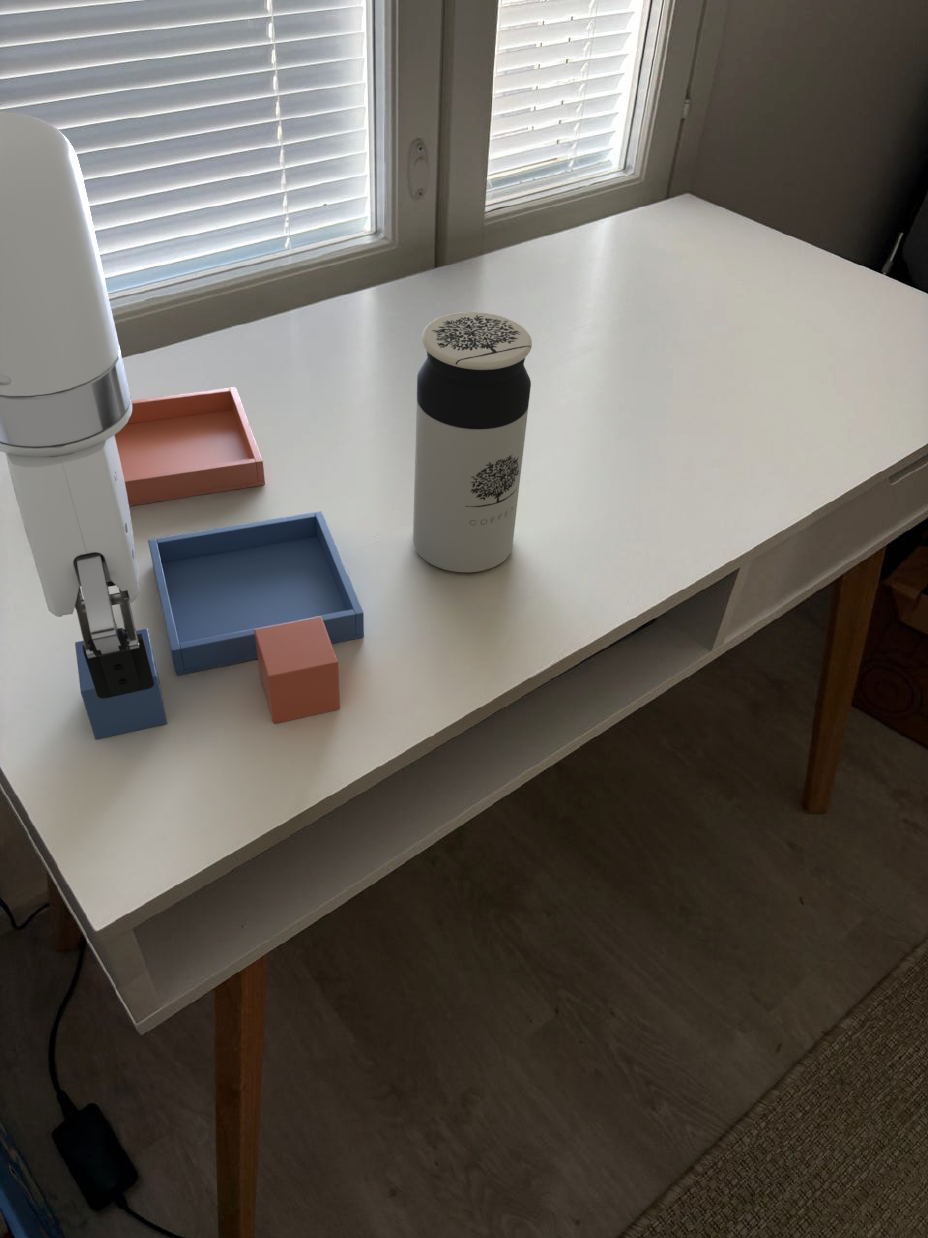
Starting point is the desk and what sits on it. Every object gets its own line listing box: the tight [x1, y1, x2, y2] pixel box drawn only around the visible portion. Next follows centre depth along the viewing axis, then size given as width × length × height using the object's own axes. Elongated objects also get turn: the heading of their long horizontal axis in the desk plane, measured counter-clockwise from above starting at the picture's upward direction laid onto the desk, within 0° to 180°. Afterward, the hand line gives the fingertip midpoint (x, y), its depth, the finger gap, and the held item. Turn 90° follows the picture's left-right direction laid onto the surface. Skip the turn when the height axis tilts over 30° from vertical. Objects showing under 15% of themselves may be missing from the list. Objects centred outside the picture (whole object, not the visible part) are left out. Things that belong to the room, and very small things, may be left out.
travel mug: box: [412, 311, 533, 573], centre depth 74 cm, size 8×8×18 cm
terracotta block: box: [254, 617, 341, 724], centre depth 67 cm, size 4×4×4 cm
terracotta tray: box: [114, 386, 266, 507], centre depth 86 cm, size 13×12×2 cm
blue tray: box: [147, 510, 365, 676], centre depth 74 cm, size 13×12×2 cm
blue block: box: [74, 628, 168, 740], centre depth 65 cm, size 4×4×4 cm
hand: (117, 634), depth 62 cm, fingers open, 9 cm apart
